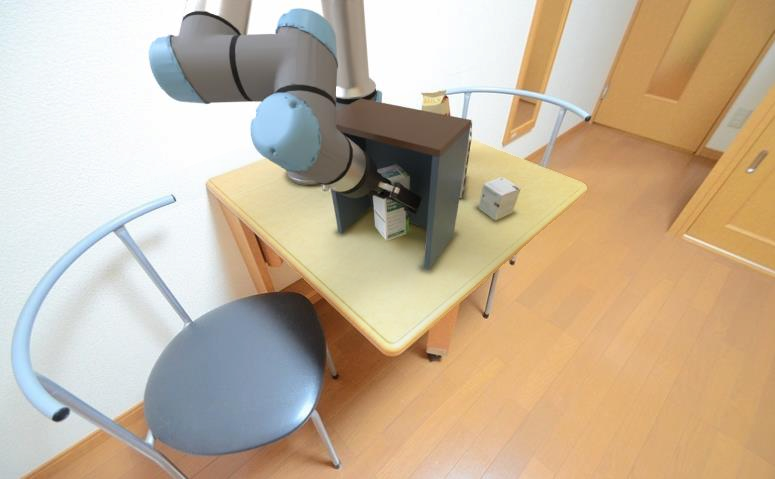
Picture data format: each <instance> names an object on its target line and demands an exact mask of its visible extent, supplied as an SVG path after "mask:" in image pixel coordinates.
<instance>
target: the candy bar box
mask: <svg viewBox="0 0 775 479" xmlns="http://www.w3.org/2000/svg"><path fill="white" fill-rule="evenodd" d="M470 120H471V126H470V133H469V140H468V146H467V153H466V159H465V165H464V172H463V178H462V185H461V191H460V198H459V199H463V198H464V193H465V186H466V179H467V172H468V166H469V159H470V153H471V145H472V139H473V138H472V137H473V136H472V135H473V120H472V119H470Z"/></svg>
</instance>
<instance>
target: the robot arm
mask: <svg viewBox="0 0 775 479" xmlns="http://www.w3.org/2000/svg"><path fill="white" fill-rule="evenodd" d="M320 4H321V10H322V14H320V13H318V12H316V11H314V10H311V9H308V8H300V7H298V8H292V9H290V10H289V11H287V12H286V13H283V14H282V15H281V16H280V17H279V18H278V21H277V24H276V28H275V30H274V31H275V32H274V33H258V34H257V33H256V34H255V33H254V34H248V33H249V28H250V20H251V13H252V7H253V6H252V5H253V0H186V1H185V6H184V11H183V15H182V19H181V20H182V21H181V23H180V28H179V32H178V35H173V34H168V35H166V36H161V37H157V38H156V39H154V41H152V42H151V43H150V46H149V50H148V61H149V67H150V70H151V73H152V76H153V78H154V79H155V81H156V83H157V85H158V86H159V87H160V89H161V90H162V91H163V92H164V93H165V94H166V95H167V96H168V97H170V98H171V99H172V100H175V101H177V102H180V103H189V104H191V103H192V104H204V105H209V104H214V103H215V104H217V103H219V104H221V103H248V102H250V103H251V102H255V103H256V102H257V103H258V102H259V105H258V106H257V107H256V109H255V112H256V114H255V117H254V118H252V119H251V121H250V137H251V138H250V139H251V141H252V144H253V146H254V148H255V149H256V151H257V153H259V154H260V155H261V156H262V157H264V158H265V159H267V160H268V161H269V162H272V163H273V164H275V165H277V166H279V168H282V169H283V170H285V171H286V174H287V177H288V179H289V180H290V181H291V182H292V183H294V184H297V185H301V186H316V185H317V186H318V185H321V186H322V187H321V188H322V191H324V192H328V191H329V190H331V189H332V190H334V191H336V192H338V193H340V194H342V195H344V196H347V197H349V198H359V197H362V196H364V195H368V196H370V197H372V198H373V195H374V196H377V197H379V198H382V199H385V198H388V199H390V200H392V201H394V202H396V203H398V204H400V205H402V207H403V208H404V211H407V212H409V211H410V212H412V213H415V214H416V212H417V210H418V207H419V204H420V202H421V199H422V198H421V197H420V196H418V195H416V194H415V193H413V192H411V191H410V190H408V189H407V188H405V187H404V186H403V185H402V184H400V182H395V183H393V185H392V184H391V181H390V180H388V179H386V178H385V177H383V176H382V175H381V174H380V173H378V171H377V166H376V163H375V161H374V160H373V158H372V157H371V156H369V155H368V154H367V153H366V152H364V151H363V150H362V149H360V147H359V146H358V145H356V144H355V143H354V142H353V141H351V140H350V139H349V138H347V137H346V136H345V135H343V134H342V133H341V132H340V131H339V130H337V128H336V111H338V110H340V109H341V108H343V107H345V106H347V105H349V104H351V103H353V102H355V101H357V100H359V99H366V100H371V101H376V102H381V103H383V102H382V101H383V92H382V90H379V89H377V85H376V82H375V81H374V80H373V79H372V78H371V77H370V72H369V56H368V55H369V54H368V44H367V43H368V42H367V29H366V16H365V14H366V13H365V1H364V0H320Z"/></svg>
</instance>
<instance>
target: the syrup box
mask: <svg viewBox="0 0 775 479" xmlns="http://www.w3.org/2000/svg"><path fill="white" fill-rule="evenodd" d="M377 171H378V173H380V174H381V175H382V176H383V177H385V178H386V179H388V180H390V181H391V184H392V185H393V183H395V182H400V184H402V185H403V186H404V187H405V188H407V189H408V190H410V176H409V175H408V174H407V173H406V172H405V171H404V170H403V169H402V168H401V167H400V166H398V165H397V164H394V165H392V166H389V167H385V168H381V169H378V170H377ZM373 205H374V209H373V215H374V216H373V217H374V227H375V228H376V230H377V231H378V232H379V234H380V235H381V237H382V238H384V240H385V241H386V242H388V241H390V240H393V239H396V238H398V237H401V236H404V235H407V234H409V233H410V222H409V212H407V211H404V208H403V207H402V205H400V204H398V203H396V202H394V201H392V200H390V199H388V198H385V199H382V198H379V197H377V196H374V195H373Z"/></svg>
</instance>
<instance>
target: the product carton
mask: <svg viewBox="0 0 775 479" xmlns="http://www.w3.org/2000/svg"><path fill="white" fill-rule="evenodd" d="M521 190H522V189H521V187H519V186H518V185H516V184H515V183H513V182H512V181H510V180H508V179H506V178H505V177H503V176H500V177H498V178H495V179H492V180H490V181H486V182H484V183H483V186H482V189H481V193H480V198H479V202H478V209H479V210H480V211H481V212H483V213H484V214H486V216H488V217H489V218H491V219H492V220H493V221H498V220H500V219H502V218H505V217H506V216H510V215H511V214H513V213H514V209H515V207H516V203H517V201H518V198H519V195H520V192H521Z"/></svg>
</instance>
